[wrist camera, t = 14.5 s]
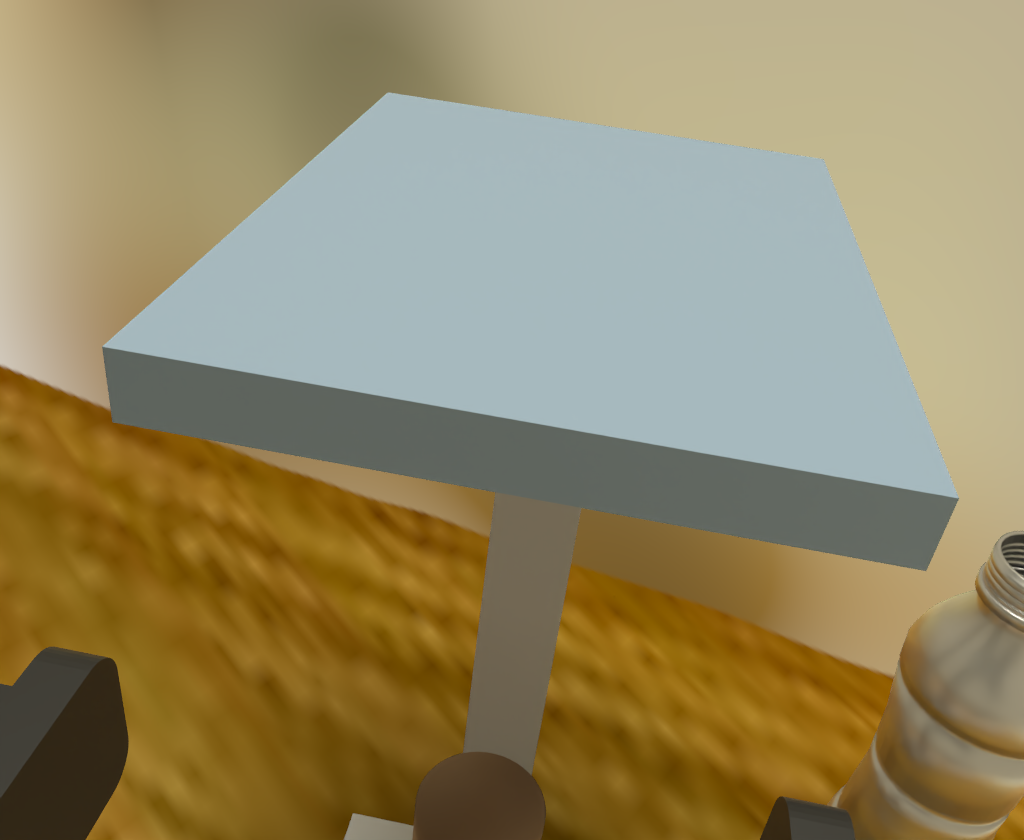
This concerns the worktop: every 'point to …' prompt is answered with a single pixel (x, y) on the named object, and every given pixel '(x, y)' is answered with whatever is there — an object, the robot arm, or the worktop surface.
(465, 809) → the peg
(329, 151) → the socket stand
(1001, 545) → the plastic bottle
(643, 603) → the worktop surface
